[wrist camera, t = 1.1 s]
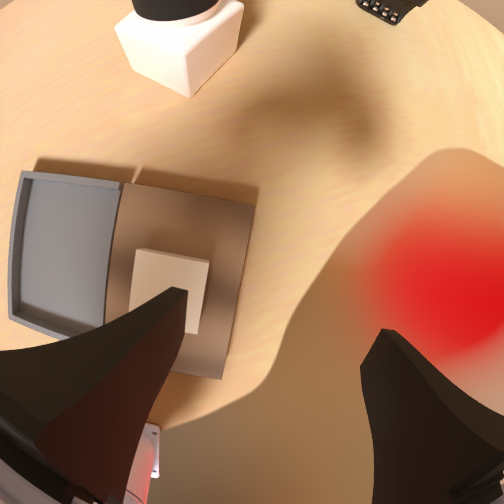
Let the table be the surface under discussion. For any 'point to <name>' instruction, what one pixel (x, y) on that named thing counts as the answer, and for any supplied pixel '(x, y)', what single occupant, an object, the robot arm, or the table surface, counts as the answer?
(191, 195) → the board
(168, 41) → the medicine bottle
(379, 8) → the battery charger
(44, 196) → the tray
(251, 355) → the table surface
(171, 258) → the tile
